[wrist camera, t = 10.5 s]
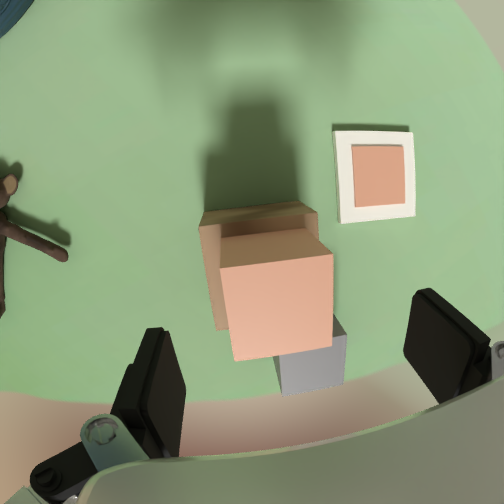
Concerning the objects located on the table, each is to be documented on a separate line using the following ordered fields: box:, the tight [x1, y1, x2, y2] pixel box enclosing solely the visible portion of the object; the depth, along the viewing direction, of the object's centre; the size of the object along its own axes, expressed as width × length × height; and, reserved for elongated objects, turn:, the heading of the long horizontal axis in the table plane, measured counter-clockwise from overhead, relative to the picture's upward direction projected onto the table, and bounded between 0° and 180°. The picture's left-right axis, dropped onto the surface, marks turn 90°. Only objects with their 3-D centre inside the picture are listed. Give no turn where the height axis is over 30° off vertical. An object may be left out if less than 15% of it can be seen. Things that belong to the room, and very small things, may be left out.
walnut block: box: [199, 201, 319, 331], centre depth 21 cm, size 7×7×5 cm
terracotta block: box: [220, 228, 333, 361], centre depth 16 cm, size 5×5×5 cm
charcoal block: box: [273, 314, 347, 396], centre depth 24 cm, size 5×5×5 cm
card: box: [332, 131, 415, 224], centre depth 22 cm, size 7×7×1 cm
